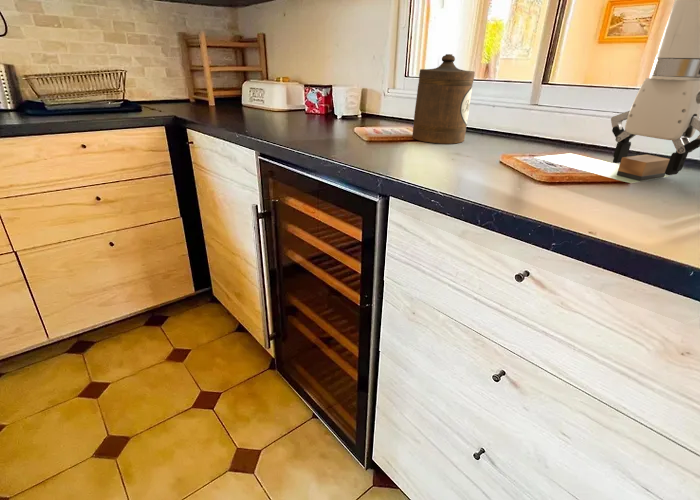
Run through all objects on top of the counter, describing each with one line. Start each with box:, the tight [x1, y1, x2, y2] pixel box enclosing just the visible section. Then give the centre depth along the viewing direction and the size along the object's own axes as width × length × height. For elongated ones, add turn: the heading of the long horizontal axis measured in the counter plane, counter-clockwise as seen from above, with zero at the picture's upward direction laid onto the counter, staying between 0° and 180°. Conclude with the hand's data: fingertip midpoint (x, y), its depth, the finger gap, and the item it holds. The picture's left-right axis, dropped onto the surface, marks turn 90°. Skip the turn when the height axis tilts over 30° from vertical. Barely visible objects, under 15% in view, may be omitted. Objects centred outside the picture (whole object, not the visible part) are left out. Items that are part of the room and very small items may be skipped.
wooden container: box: [411, 53, 476, 145], centre depth 110 cm, size 15×15×22 cm
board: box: [532, 152, 670, 184], centre depth 84 cm, size 22×13×1 cm, turn 26°
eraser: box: [617, 153, 670, 182], centre depth 76 cm, size 4×8×4 cm, turn 116°
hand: (643, 167), depth 77 cm, fingers open, 9 cm apart
